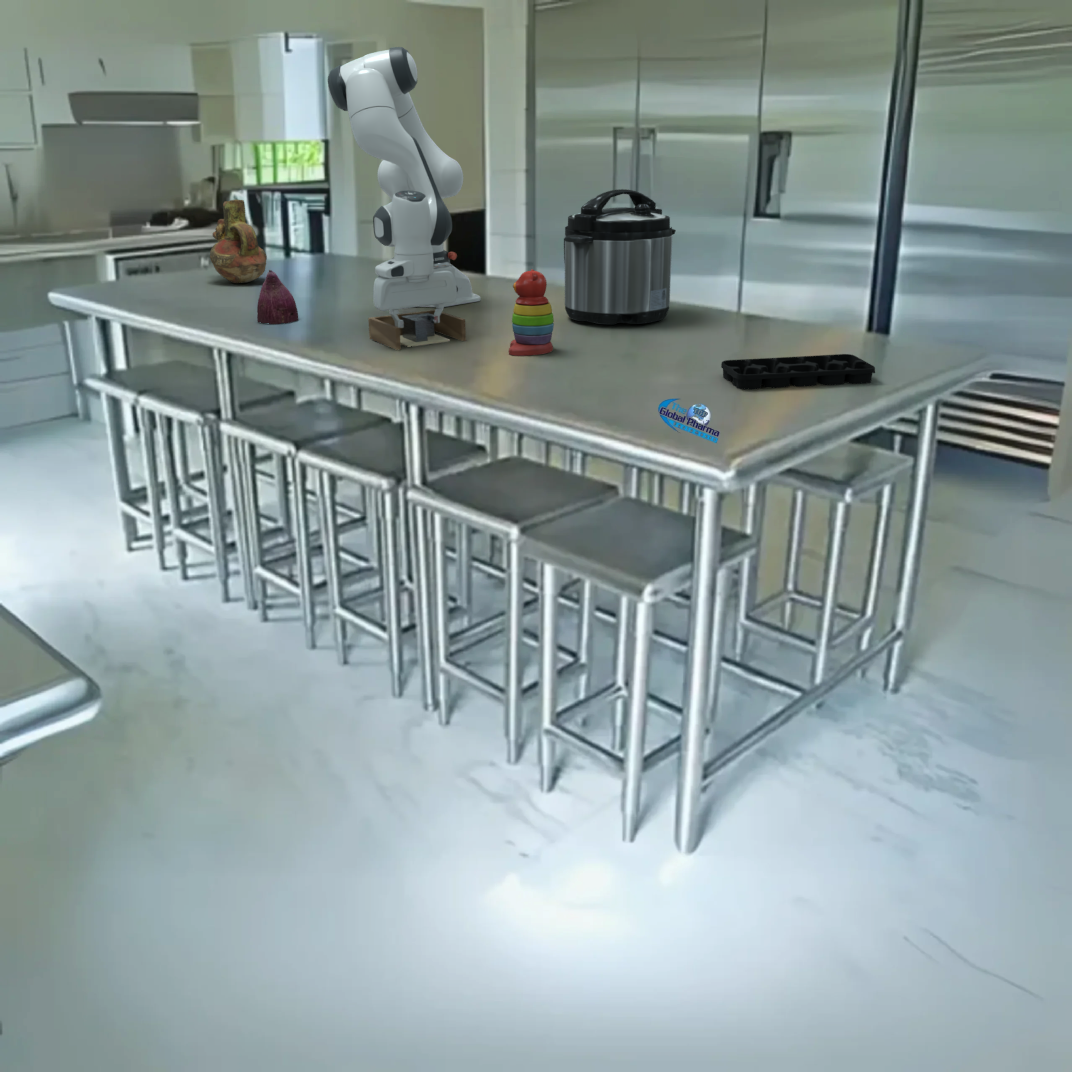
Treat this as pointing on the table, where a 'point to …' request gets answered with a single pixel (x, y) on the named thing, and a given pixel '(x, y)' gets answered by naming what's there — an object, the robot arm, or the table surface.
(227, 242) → the ceramic vessel
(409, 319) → the bracket
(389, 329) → the bay
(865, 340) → the table surface
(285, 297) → the vegetable
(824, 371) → the black plastic tray
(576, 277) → the pressure cooker
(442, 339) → the pad
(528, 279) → the stacking bear
